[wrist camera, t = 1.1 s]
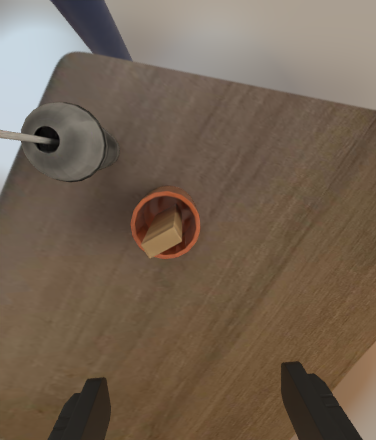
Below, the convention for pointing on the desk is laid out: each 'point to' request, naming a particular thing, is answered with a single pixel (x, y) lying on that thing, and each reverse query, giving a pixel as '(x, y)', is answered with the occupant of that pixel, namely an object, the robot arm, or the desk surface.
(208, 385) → the desk surface
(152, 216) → the utensil cup
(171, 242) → the wooden block
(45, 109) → the beverage cup
